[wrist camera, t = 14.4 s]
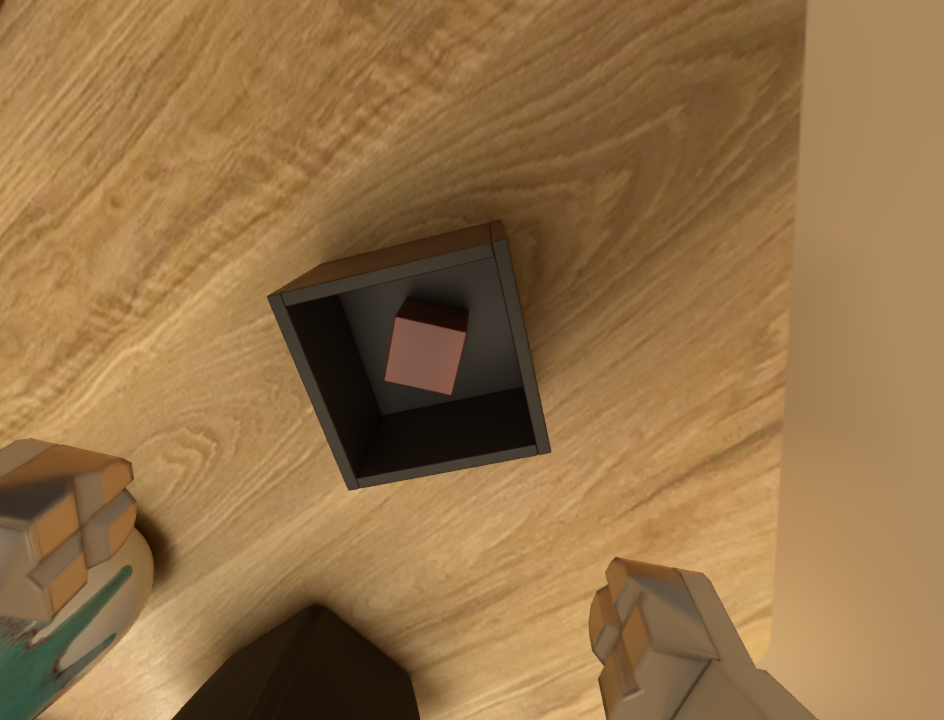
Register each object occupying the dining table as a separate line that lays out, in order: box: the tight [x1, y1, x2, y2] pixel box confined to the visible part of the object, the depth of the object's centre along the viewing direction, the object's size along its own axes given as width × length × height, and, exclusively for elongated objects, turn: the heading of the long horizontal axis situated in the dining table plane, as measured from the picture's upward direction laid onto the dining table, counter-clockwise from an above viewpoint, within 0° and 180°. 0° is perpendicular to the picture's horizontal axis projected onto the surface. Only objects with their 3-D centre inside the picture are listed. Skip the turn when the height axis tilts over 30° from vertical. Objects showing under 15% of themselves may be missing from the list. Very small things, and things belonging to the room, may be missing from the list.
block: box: [384, 297, 469, 395], centre depth 27 cm, size 4×4×4 cm
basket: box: [267, 220, 551, 490], centre depth 26 cm, size 11×11×8 cm
